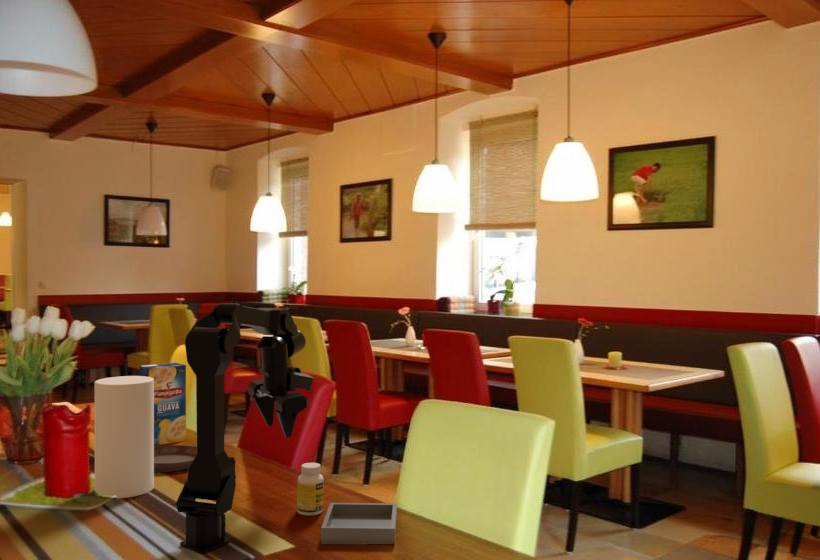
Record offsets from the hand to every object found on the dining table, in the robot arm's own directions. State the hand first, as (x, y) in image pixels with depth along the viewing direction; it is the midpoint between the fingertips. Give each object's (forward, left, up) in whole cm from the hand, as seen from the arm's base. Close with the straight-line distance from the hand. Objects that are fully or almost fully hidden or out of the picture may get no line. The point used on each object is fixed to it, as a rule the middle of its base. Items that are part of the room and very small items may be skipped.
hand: (279, 431), depth 158 cm
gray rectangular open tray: (-6, -28, -14) cm, 32 cm away
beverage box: (+14, +61, -14) cm, 64 cm away
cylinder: (-18, +31, -14) cm, 38 cm away
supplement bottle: (-4, -13, -14) cm, 20 cm away
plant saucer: (+1, +40, -15) cm, 42 cm away
